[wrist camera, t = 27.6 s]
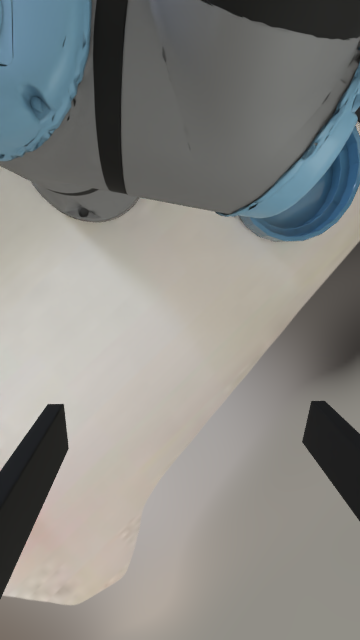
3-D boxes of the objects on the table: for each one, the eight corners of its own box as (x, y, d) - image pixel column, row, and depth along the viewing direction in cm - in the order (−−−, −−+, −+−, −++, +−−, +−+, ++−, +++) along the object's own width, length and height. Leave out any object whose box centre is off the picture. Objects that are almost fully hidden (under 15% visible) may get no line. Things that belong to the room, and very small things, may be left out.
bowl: (207, 167, 33) (212, 158, 30) (308, 82, 32) (327, 61, 28) (268, 263, 38) (279, 265, 34) (359, 194, 36) (382, 188, 32)
